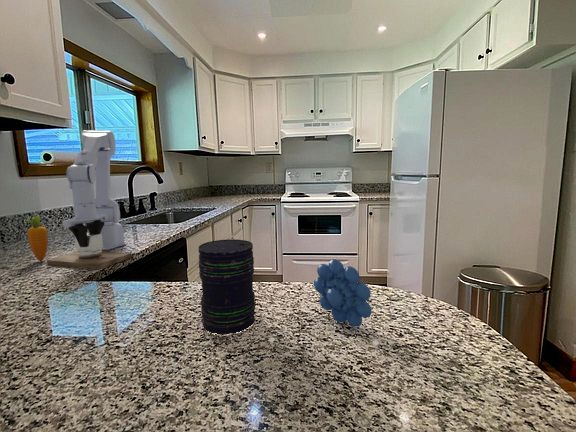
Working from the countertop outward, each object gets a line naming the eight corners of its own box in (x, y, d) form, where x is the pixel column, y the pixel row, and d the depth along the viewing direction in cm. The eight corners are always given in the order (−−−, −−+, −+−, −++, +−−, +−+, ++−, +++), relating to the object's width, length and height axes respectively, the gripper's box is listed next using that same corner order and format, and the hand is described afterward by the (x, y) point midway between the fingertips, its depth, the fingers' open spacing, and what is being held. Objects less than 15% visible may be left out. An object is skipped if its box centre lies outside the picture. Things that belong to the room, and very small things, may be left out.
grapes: (301, 323, 56) (301, 261, 54) (320, 309, 61) (320, 252, 59) (360, 344, 49) (362, 273, 47) (376, 326, 54) (378, 262, 52)
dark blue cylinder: (201, 340, 50) (196, 254, 48) (202, 314, 60) (197, 241, 58) (259, 331, 53) (257, 249, 51) (251, 307, 62) (249, 237, 60)
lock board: (85, 253, 106) (84, 249, 106) (131, 257, 101) (131, 252, 101) (47, 264, 94) (46, 259, 93) (98, 269, 88) (97, 263, 88)
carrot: (42, 263, 95) (36, 216, 93) (27, 263, 95) (20, 217, 93) (54, 258, 100) (49, 214, 98) (40, 259, 100) (34, 214, 98)
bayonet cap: (90, 252, 101) (88, 231, 100) (107, 253, 99) (105, 232, 98) (72, 257, 95) (70, 235, 94) (90, 259, 93) (87, 236, 92)
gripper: (93, 201, 102) (97, 239, 104) (52, 205, 88) (57, 250, 90) (111, 201, 101) (114, 240, 103) (71, 206, 87) (76, 251, 89)
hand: (89, 245), depth 96 cm, fingers closed on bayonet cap, 4 cm apart
